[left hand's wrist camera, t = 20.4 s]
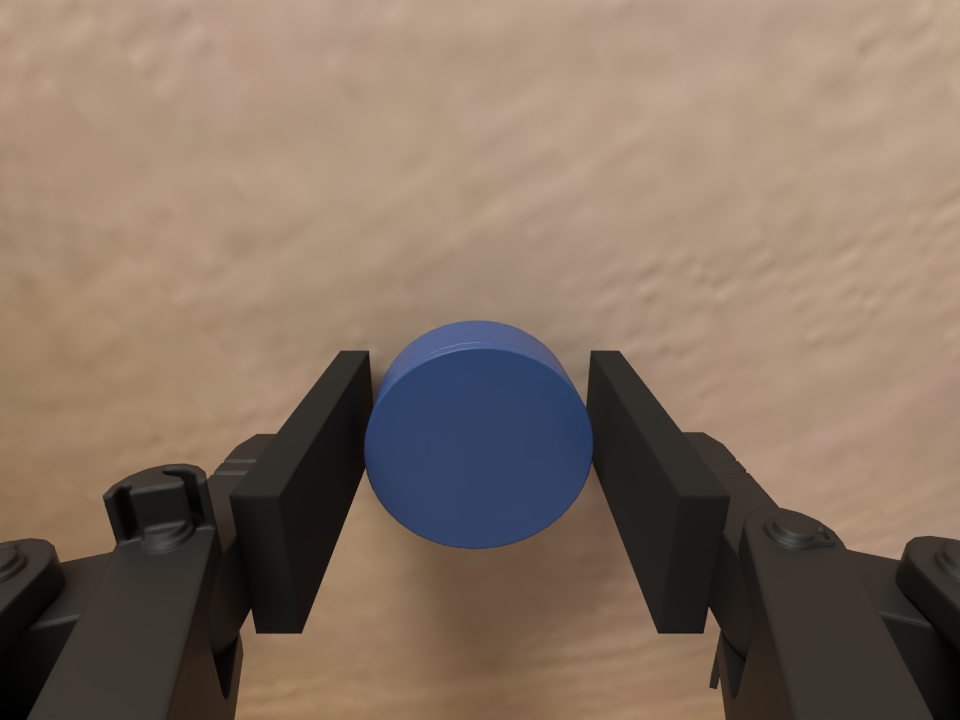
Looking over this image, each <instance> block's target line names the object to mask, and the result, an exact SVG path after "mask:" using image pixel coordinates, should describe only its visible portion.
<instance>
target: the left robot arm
mask: <svg viewBox="0 0 960 720" xmlns="http://www.w3.org/2000/svg"><path fill="white" fill-rule="evenodd" d="M586 409H587V412H588V415H589V418H590V421H591V426H592V431H593V445H594V449H593V457H592V463H593V465H594V468H595V471H596V473H597V476H598V478H599V481H600V484H601V486H602V489H603V491H604V494H605V497H606V499H607V502H608V504H609V507H610V510H611V512H612V515H613V517H614V520H615V523H616V525H617V528H618V530H619V533H620V536H621V538H622V541H623V543H624V546H625V549H626V551H627V554H628V556H629V559H630V562H631V564H632V567H633V569H634V572H635V575H636V577H637V580H638V582H639V585H640V588H641V590H642V593H643V595H644V598H645V601H646V603H647V606H648V608H649V611H650V614H651V616H652V619H653V621H654V624H655V627H656V629H657V632H658V634H703V633H704V628H705V623H706V618H707V613H708V608H709V607H710V609H711V611H712V613H713V615H714V617H715V619H716V620H717V622H718V624H719V626H720V628H721V631H720V636H719V640H718V645H717V650H716V654H715V659H714V664H713V668H712V673H711V679H710V686H709V687H710V688H714V689H717V686H718V682H719V677H720V680H721V688H722V695H723V702H724V710H725V717H726V720H960V541H958V540H954V539H948V538H941V537H934V536H924V537H915V538H913V539H912V540H911V541H909V542H908V543H907V544H906V546H905V549H904V552H903V555H902V558H901V561H900V560H895V559H890V558H885V557H880V556H875V555H870V554H866V553H861V552H856V551H852V550H848V549H846V547H845V545H844V544H843V542H842V541H841V540H840V538H839V537H838V536H837V535H836V534H835V532H834V531H832V530H831V529H829V528H828V527H827V526H825V525H824V524H822V523H821V522H819V521H818V520H815V519H813V518H811V517H809V516H806V515H804V514H802V513H799V512H795V511H791V510H787V509H783V508H779V507H778V506H777V504H776V503H775V502H774V501H773V500H772V499H771V498H770V497H769V495H768V494H767V493H766V492H765V491H764V490H763V489H762V488H761V486H760V485H759V484H758V483H757V482H756V481H755V480H754V479H753V477H752V476H751V475H750V474H749V473H746V469H745V468H744V467H743V466H742V465H741V464H740V463H739V462H738V461H736V458H735V457H734V456H733V455H732V454H731V453H730V451H729V450H728V449H727V448H726V447H725V446H724V445H723V444H722V443H720V442H718V441H717V440H715V439H713V438H712V437H710V436H708V435H707V434H705V433H703V432H681V430H680V429H679V428H678V427H677V425H676V424H675V423H674V421H673V420H672V419H671V417H670V416H669V415H668V414H667V412H666V411H665V410H664V408H663V407H662V406H661V405H660V403H659V402H658V401H657V399H656V398H655V397H654V395H653V394H652V393H651V392H650V390H649V389H648V388H647V386H646V385H645V384H644V382H643V381H642V380H641V379H640V377H639V376H638V375H637V373H636V372H635V371H634V369H633V368H632V367H631V366H630V364H629V363H628V362H627V360H626V359H625V358H624V357H623V355H622V354H621V353H620V351H591V356H590V369H589V381H588V394H587V406H586ZM372 410H373V397H372V384H371V371H370V359H369V351H340V352H339V354H338V355H337V356H336V358H335V359H334V360H333V361H332V363H331V364H330V365H329V367H328V368H327V369H326V370H325V372H324V373H323V374H322V376H321V377H320V378H319V380H318V381H317V382H316V383H315V385H314V386H313V387H312V389H311V390H310V391H309V393H308V394H307V395H306V396H305V398H304V399H303V400H302V402H301V403H300V404H299V405H298V407H297V408H296V409H295V411H294V412H293V413H292V415H291V416H290V417H289V418H288V420H287V421H286V422H285V424H284V425H283V426H282V428H281V429H280V430H279V431H278V433H277V434H256V435H255V436H253V437H251V438H250V439H248V440H246V441H245V442H243V443H241V444H240V445H238V446H237V447H236V448H235V449H234V450H233V451H232V452H231V453H230V455H229V456H228V457H227V458H226V459H225V460H224V461H225V462H224V463H222V464H221V465H220V466H219V467H218V468H217V469H216V470H215V472H214V475H211V476H210V477H209V478H208V479H207V478H206V473H205V471H203V470H202V469H201V468H199V467H198V466H194V465H189V464H168V465H163V466H158V467H154V468H149V469H146V470H143V471H141V472H138V473H136V474H133V475H130V476H128V477H126V478H125V479H123V480H121V481H120V482H118V483H116V484H115V485H113V486H112V487H111V488H110V489H109V490H108V491H107V492H106V493H105V494H104V495H103V499H104V503H105V506H106V509H107V513H108V516H109V519H110V523H111V526H112V529H113V533H114V536H115V539H116V543H117V544H116V546H115V548H114V550H113V552H110V553H106V554H101V555H96V556H91V557H87V558H82V559H77V560H72V561H67V562H62V563H60V562H59V559H58V556H57V553H56V550H55V547H54V546H53V545H52V544H51V543H49V542H48V541H47V540H42V539H32V538H29V539H23V540H16V541H8V542H4V543H0V720H234V719H235V711H236V704H237V696H238V689H239V682H240V674H241V667H242V659H243V647H242V640H241V636H240V631H239V630H240V628H241V627H242V625H243V623H244V621H245V619H246V617H247V615H248V613H249V611H250V609H252V614H253V619H254V624H255V629H256V634H302V631H303V629H304V626H305V623H306V621H307V618H308V616H309V613H310V610H311V608H312V605H313V603H314V600H315V597H316V595H317V592H318V590H319V587H320V584H321V582H322V579H323V577H324V574H325V571H326V569H327V566H328V564H329V561H330V558H331V556H332V553H333V551H334V548H335V545H336V543H337V540H338V538H339V535H340V532H341V530H342V527H343V525H344V522H345V519H346V517H347V514H348V512H349V509H350V506H351V504H352V501H353V499H354V496H355V493H356V491H357V488H358V486H359V483H360V481H361V478H362V475H363V473H364V470H365V468H366V466H365V458H364V444H365V435H366V431H367V427H368V423H369V420H370V417H371V413H372Z"/></svg>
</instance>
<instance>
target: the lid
mask: <svg viewBox="0 0 960 720" xmlns="http://www.w3.org/2000/svg"><path fill="white" fill-rule="evenodd" d="M593 449H594V445H593V431H592V426H591V421H590V418H589V415H588V412H587V409H586V407H585V406H584V404H583V402H582V400H581V398H580V396H579V394H578V393H577V391H576V389H575V387H574V386H573V384H572V382H571V380H570V379H569V377H568V375H567V374H566V372H565V370H564V368H563V367H562V365H561V364H560V362H559V361H558V359H557V358H556V357H555V355H554V354H553V353H552V352H551V351H550V350H549V349H548V348H547V347H546V346H545V345H544V344H542V343H541V342H540V341H539V340H537V339H536V338H535V337H533V336H531V335H529V334H528V333H526V332H524V331H522V330H520V329H517V328H515V327H512V326H509V325H505V324H502V323H497V322H490V321H465V322H457V323H453V324H449V325H445V326H442V327H440V328H437V329H435V330H432V331H430V332H428V333H426V334H424V335H423V336H421V337H419V338H418V339H416V340H415V341H414V342H412V343H411V344H409V345H408V346H407V347H406V348H405V349H404V350H403V351H402V352H401V353H400V354H399V355H398V356H397V358H396V359H395V360H394V361H393V363H392V364H391V365H390V367H389V369H388V371H387V372H386V374H385V376H384V378H383V381H382V383H381V386H380V388H379V392H378V395H377V398H376V401H375V404H374V407H373V410H372V413H371V417H370V420H369V423H368V427H367V431H366V435H365V444H364V458H365V466H366V471H367V475H368V478H369V481H370V483H371V486H372V488H373V490H374V492H375V494H376V496H377V498H378V499H379V501H380V502H381V504H382V505H383V506H384V508H385V509H386V510H387V511H388V512H389V513H390V514H391V515H392V516H393V517H394V518H395V519H396V520H397V521H398V522H399V523H401V524H402V525H403V526H404V527H406V528H407V529H409V530H410V531H412V532H414V533H415V534H417V535H419V536H421V537H423V538H426V539H428V540H430V541H433V542H436V543H439V544H442V545H447V546H452V547H457V548H468V549H484V548H492V547H499V546H504V545H508V544H512V543H515V542H518V541H521V540H524V539H526V538H528V537H530V536H532V535H534V534H536V533H538V532H540V531H541V530H543V529H545V528H546V527H548V526H549V525H551V524H552V523H553V522H554V521H556V520H557V519H558V518H559V517H560V516H561V515H562V514H563V513H564V512H565V511H566V510H567V509H568V508H569V507H570V506H571V505H572V503H573V502H574V501H575V499H576V498H577V496H578V495H579V493H580V491H581V490H582V488H583V486H584V484H585V482H586V479H587V477H588V474H589V471H590V467H591V463H592V457H593Z"/></svg>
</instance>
